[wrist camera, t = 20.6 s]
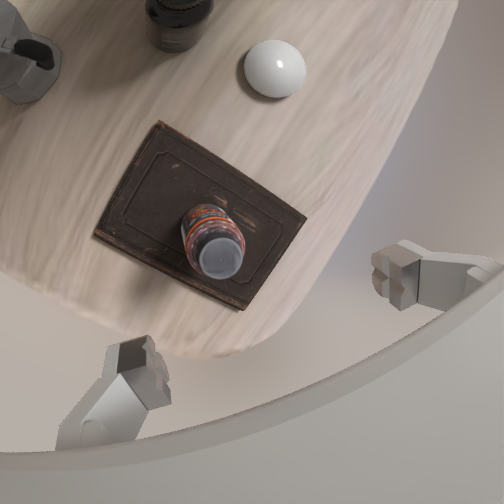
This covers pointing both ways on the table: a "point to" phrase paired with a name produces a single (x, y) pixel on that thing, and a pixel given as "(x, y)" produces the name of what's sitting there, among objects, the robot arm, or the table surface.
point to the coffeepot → (25, 59)
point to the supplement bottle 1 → (176, 22)
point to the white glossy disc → (274, 69)
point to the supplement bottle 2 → (212, 241)
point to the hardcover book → (186, 197)
